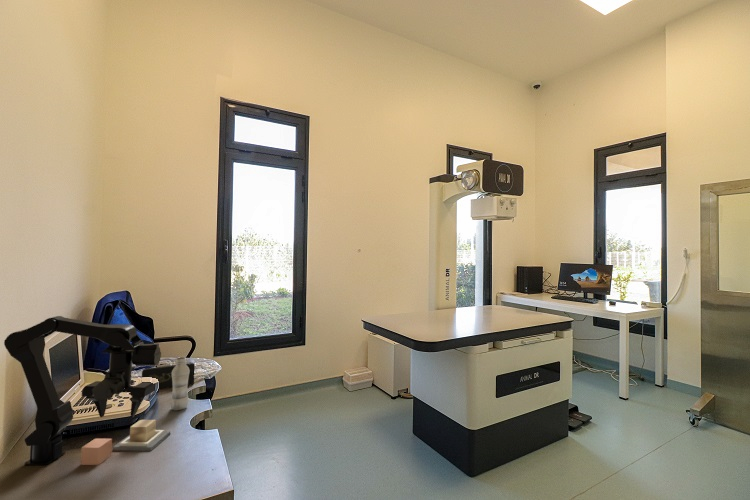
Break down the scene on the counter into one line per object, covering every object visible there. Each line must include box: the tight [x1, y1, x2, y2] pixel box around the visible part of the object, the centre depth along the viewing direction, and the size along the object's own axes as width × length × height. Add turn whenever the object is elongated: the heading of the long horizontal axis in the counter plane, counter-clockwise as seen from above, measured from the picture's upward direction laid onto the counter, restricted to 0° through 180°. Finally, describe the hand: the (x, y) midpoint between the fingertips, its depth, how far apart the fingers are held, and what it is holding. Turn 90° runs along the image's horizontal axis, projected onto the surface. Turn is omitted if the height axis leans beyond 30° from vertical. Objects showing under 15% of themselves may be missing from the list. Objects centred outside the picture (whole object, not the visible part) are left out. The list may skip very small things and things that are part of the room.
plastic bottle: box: [169, 356, 190, 411], centre depth 137 cm, size 6×7×20 cm
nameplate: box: [141, 362, 196, 390], centre depth 159 cm, size 21×2×10 cm, turn 121°
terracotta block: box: [80, 437, 113, 466], centre depth 101 cm, size 5×5×5 cm
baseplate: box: [112, 429, 171, 452], centre depth 111 cm, size 12×10×2 cm
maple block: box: [129, 419, 157, 442], centre depth 112 cm, size 5×5×5 cm
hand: (117, 417), depth 106 cm, fingers open, 9 cm apart
